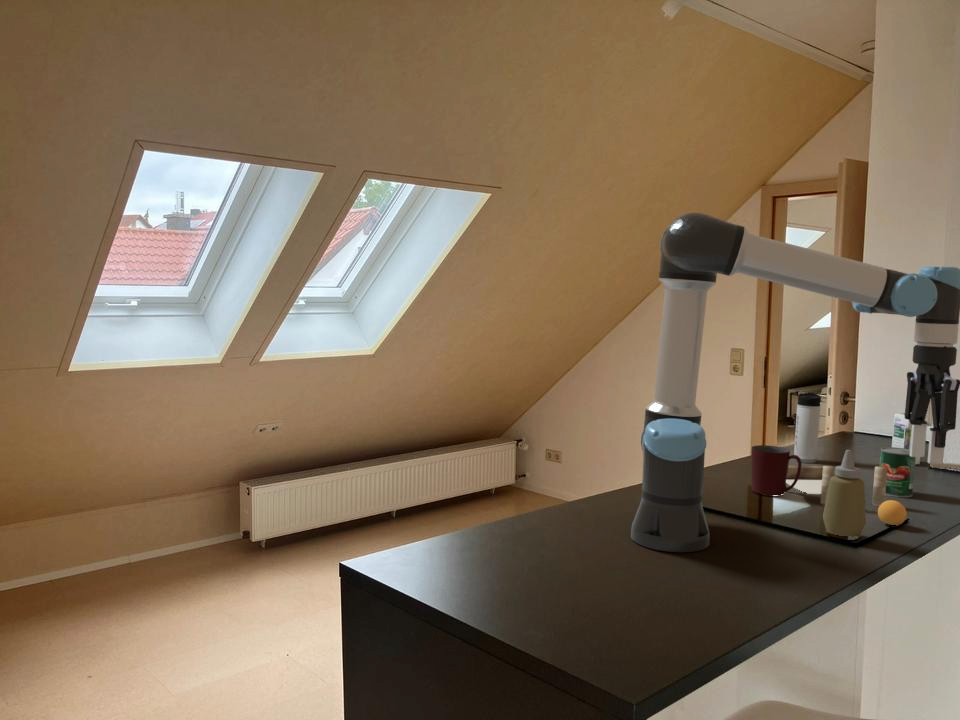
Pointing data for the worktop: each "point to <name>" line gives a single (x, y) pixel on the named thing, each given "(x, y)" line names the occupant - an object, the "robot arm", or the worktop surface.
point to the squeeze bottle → (845, 500)
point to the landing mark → (807, 486)
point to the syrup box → (902, 433)
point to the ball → (892, 512)
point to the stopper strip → (805, 472)
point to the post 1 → (826, 481)
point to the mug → (771, 469)
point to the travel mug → (807, 427)
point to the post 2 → (879, 485)
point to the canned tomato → (898, 471)
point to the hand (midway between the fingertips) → (925, 459)
